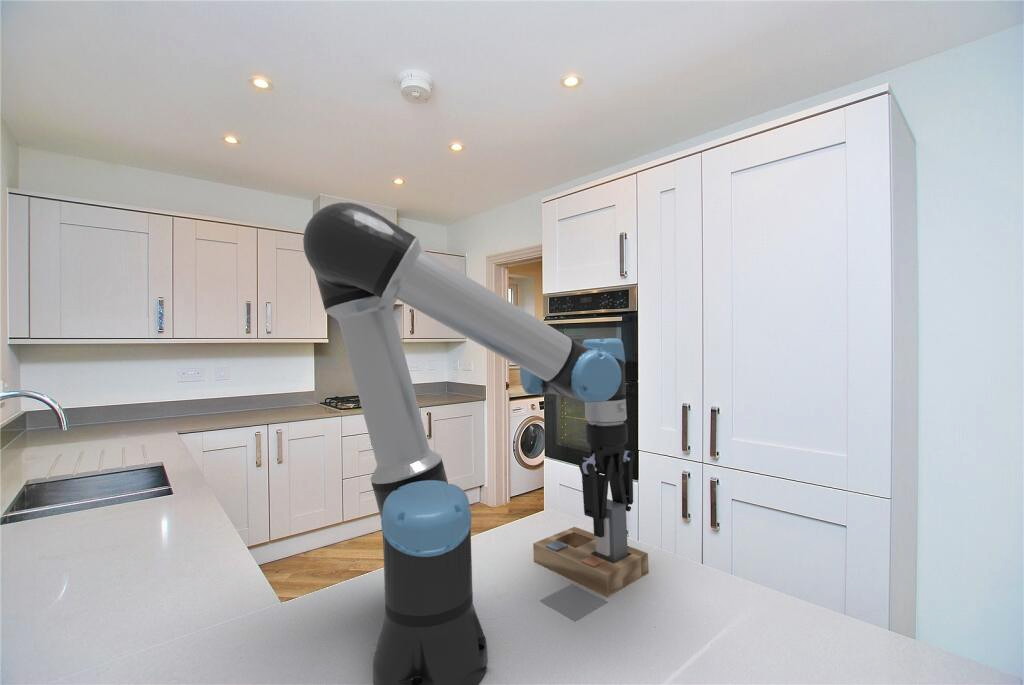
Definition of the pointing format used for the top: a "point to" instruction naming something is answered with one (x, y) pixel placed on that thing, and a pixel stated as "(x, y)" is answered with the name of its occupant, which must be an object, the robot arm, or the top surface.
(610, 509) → the plug
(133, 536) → the top surface
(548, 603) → the mat
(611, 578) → the socket board
